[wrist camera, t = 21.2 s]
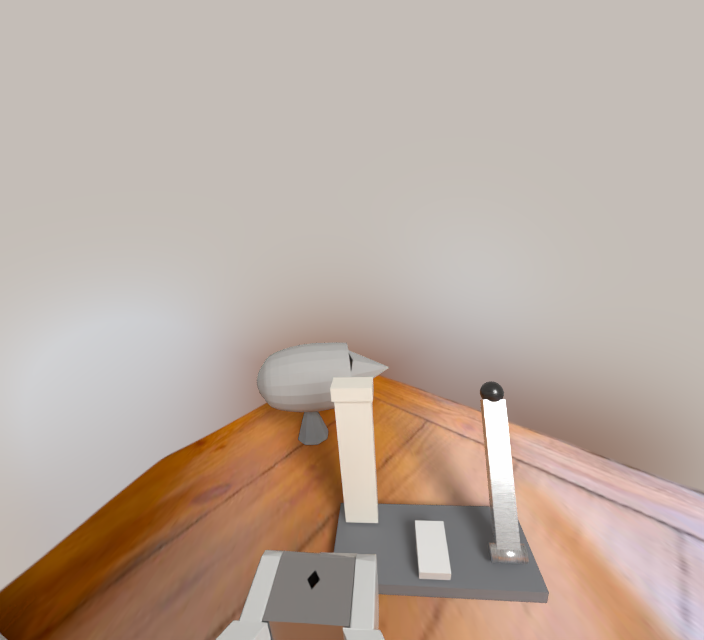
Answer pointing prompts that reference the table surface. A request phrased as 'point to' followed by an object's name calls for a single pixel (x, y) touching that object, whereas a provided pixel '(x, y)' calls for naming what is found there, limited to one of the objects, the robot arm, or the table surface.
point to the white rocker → (432, 550)
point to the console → (463, 549)
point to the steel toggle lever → (500, 479)
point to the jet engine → (310, 381)
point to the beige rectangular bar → (356, 446)
